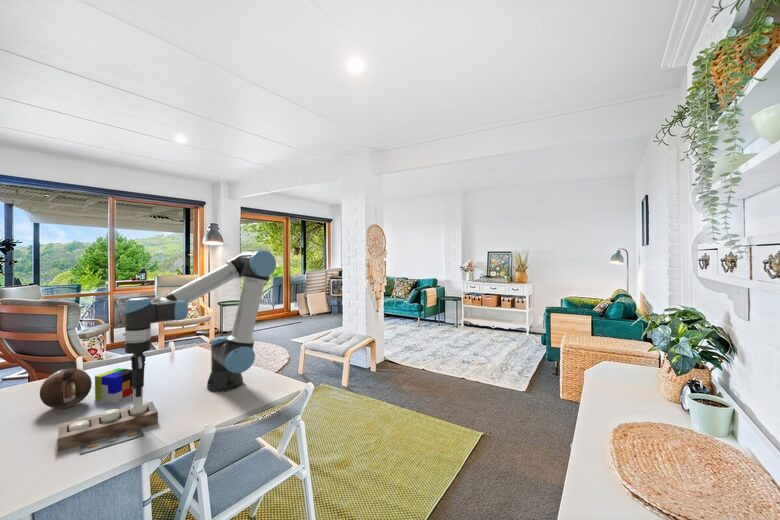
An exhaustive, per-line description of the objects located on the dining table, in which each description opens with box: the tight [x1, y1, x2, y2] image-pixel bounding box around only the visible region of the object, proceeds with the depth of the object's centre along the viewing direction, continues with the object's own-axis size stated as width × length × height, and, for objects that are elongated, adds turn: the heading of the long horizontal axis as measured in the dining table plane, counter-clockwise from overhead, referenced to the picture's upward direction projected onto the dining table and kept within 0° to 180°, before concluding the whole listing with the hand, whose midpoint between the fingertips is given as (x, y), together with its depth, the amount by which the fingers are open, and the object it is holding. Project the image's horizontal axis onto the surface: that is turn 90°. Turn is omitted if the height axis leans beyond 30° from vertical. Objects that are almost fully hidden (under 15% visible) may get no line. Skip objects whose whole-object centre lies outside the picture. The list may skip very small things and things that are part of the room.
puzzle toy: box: [94, 368, 133, 402], centre depth 146 cm, size 10×10×10 cm
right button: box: [129, 401, 148, 416], centre depth 124 cm, size 5×5×4 cm
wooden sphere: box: [39, 368, 93, 410], centre depth 135 cm, size 15×15×15 cm
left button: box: [69, 420, 89, 432], centre depth 113 cm, size 5×5×4 cm
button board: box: [57, 401, 159, 455], centre depth 116 cm, size 26×19×4 cm
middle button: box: [100, 408, 120, 424], centre depth 118 cm, size 5×5×4 cm
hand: (137, 404), depth 123 cm, fingers closed
